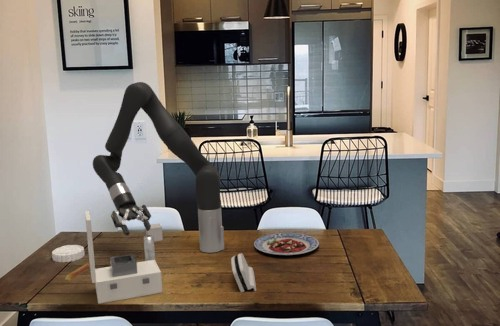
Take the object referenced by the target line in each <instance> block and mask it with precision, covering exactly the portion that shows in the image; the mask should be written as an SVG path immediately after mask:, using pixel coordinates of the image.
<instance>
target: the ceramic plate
mask: <svg viewBox="0 0 500 326" xmlns="http://www.w3.org/2000/svg"><path fill="white" fill-rule="evenodd" d="M253 245H254V247H255V249H256V250H258V251H260V252H263V253H266V254H270V255H278V256H293V255H301V254H306V253H310V252H312V251H314V250H316V249H317V248H318V247H319V245H320V243H319V241H318V239H316V238H315V237H313V236H310V235H307V234H303V233H297V232H296V233H295V232H279V233H276V232H275V233H270V234H267V235H266V234H265V235H263V236H260V237H259V238H257V239H256V240H255V241H254V243H253Z"/></svg>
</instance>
